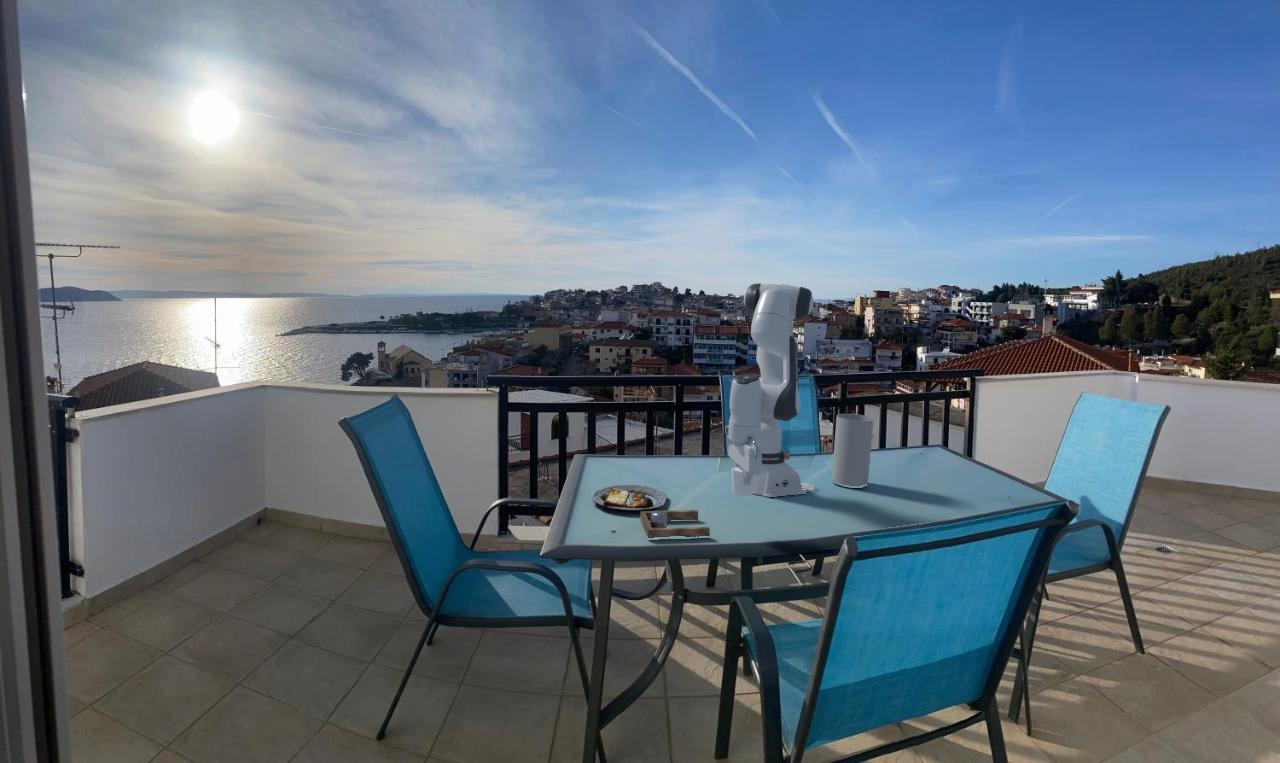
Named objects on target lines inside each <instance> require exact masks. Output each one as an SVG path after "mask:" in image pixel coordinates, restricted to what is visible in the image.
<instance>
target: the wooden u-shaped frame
mask: <svg viewBox="0 0 1280 763" xmlns="http://www.w3.org/2000/svg"><path fill="white" fill-rule="evenodd" d="M653 511H654V510H640V514H639V515H640V516H639V517H640V519H639V520H640V521H641V522H640V521H639V522H640V523H642V524H641V526H642V525H643V527H642V529H643V528H644V529H643V531H644V530H645V532H646V534H647V536H648V538H654V537H670V536H685V537H692V536H693V537H696V536H697V537H699V536H710V535H711V534H710V533H711V532H710V531H711V528H710V526H692V527H691V526H688V527H685V526H684V527H681V526H680V527H667V528H652V527H651V522H649V521H651V512H653ZM664 511H665V512H666V513H667V521H671V520H698V521H699V510H698V509H687V510H685V509H679V510H677V509H676V510H664ZM645 532H644V533H645ZM646 534H645V535H646Z"/></svg>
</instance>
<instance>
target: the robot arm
mask: <svg viewBox="0 0 1280 763" xmlns="http://www.w3.org/2000/svg"><path fill="white" fill-rule="evenodd" d="M814 303H815V302H814V296H813V293H812V291H811V290H810V288H806V287H804V286H795V285H789V284H783V283H781V284H776V283H775V284H773V283H768V284H766V283H764V284H762V283H753V284H751V285H749V286H748V287H747V289H746V291H745V293H744V296H743V306H744V309H745V311H746V312H747V314H748V315H749V314H750V315H752V316H753V317H752V320H751V326H750V335H751V338H752V341H753V342H754V343H755V345H756V346H757V350H756V357H755V359H756V360H755V361H756V363H757V365H758V367H759V372H760V376H758V375H754V374H749V373H747V374H746V373H745V374H739V375H737V376H734V377H733V379H732V381H731V385H730V386H731V387H730V394H729V412H730V416H729V421H728V425H726V426H725V428H724V429H725V431H724V432H725V434H726V450H727V455H728V457H729V458H730V459H731V460H732V461H733V462H734V467H735V466H740V467H741V468H742V469H743V470H744V473H745V476H744V484H745V485H751V478H752V476H753V475H755V479H754V487H753V494H752V495H759V496H763V497H766V496H767V497H766V498H769V497H774V498H778V497H777V496H785V495H792V494H799V493H800V494H801V493H806V492H807V493H808V489H807V488H806V487H805V488H806V490H802V489H803V488H802V486H804V484H802V482H801V476H800V473H799V472H798V471H797V470H796V469H795V468H794V467H792V466H791V465H790V464H789V463H787V462H786V461H789V460H790V459H791V455H790V454H789V453H786V452H784V451H783V450H781V448H782V433H783V432H782V427H781V424H780V423H779V421H781V422H783V421H784V422H789V421H791V420H793V419H794V418H796V417H797V416H798V415H799V413H800V410H801V397H800V390H799V389H800V388H799V387H800V386H799V355H798V354H799V352H798V345H797V341H796V339H795V337H794V320H795V324H799V323H800V321H803V320H806V319H807V318H808V317H809V316H810V314H811V313H812V310H813V309H814ZM805 488H804V489H805ZM785 497H786V496H785Z"/></svg>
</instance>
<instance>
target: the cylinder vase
mask: <svg viewBox="0 0 1280 763" xmlns="http://www.w3.org/2000/svg"><path fill="white" fill-rule="evenodd" d="M873 426H874V418H873V417H872V416H868V415H864V414H863V415H862V414H856V413H841V414H840V413H839V414H836V418H835V434H834V446H833V459H832V470H831V471H832V473H831V481H832V480H833V481H834V482H836V483H839V484H843V485H849V486H861V485H865V484H867V483H868V484H869V474H870V462H871V453H872V452H871V451H872V438H873V428H874V427H873Z"/></svg>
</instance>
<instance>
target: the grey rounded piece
mask: <svg viewBox="0 0 1280 763" xmlns="http://www.w3.org/2000/svg"><path fill="white" fill-rule="evenodd" d="M652 511H653V512H651V522H650V525H651V527H652V528H668V527H667V526H668V522H667V513H666V512H665V511H666V510H652Z"/></svg>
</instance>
